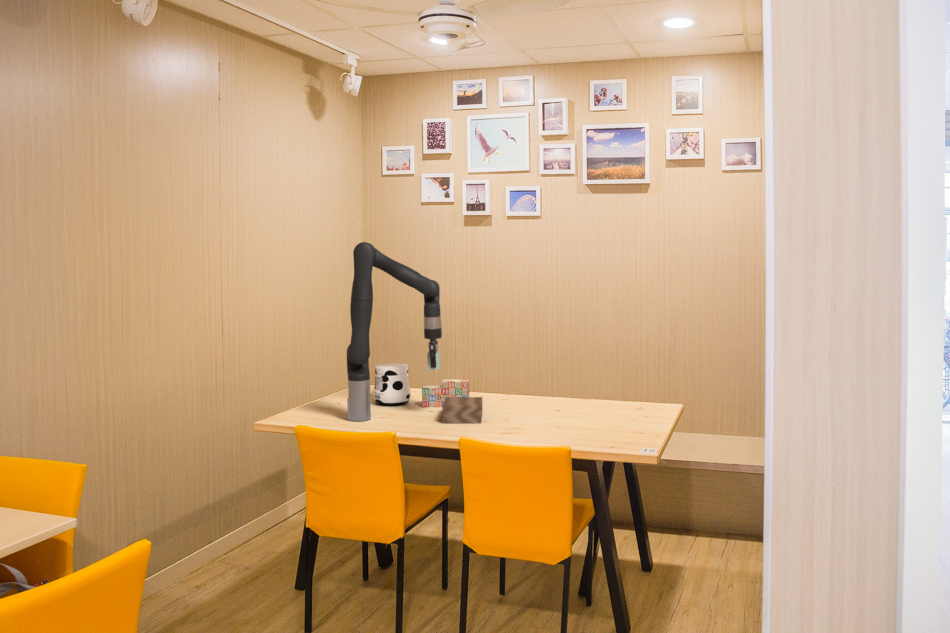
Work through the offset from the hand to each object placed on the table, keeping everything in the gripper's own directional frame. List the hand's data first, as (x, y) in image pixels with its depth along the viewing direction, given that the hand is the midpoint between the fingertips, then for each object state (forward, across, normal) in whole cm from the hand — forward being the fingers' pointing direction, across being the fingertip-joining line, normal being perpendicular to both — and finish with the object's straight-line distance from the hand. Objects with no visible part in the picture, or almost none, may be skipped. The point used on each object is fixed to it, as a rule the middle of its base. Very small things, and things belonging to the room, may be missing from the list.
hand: (434, 366), depth 323 cm
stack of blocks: (+23, -22, +3) cm, 32 cm away
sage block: (+1, 0, 0) cm, 1 cm away
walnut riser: (+22, +2, +12) cm, 25 cm away
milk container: (+22, -29, -23) cm, 43 cm away
